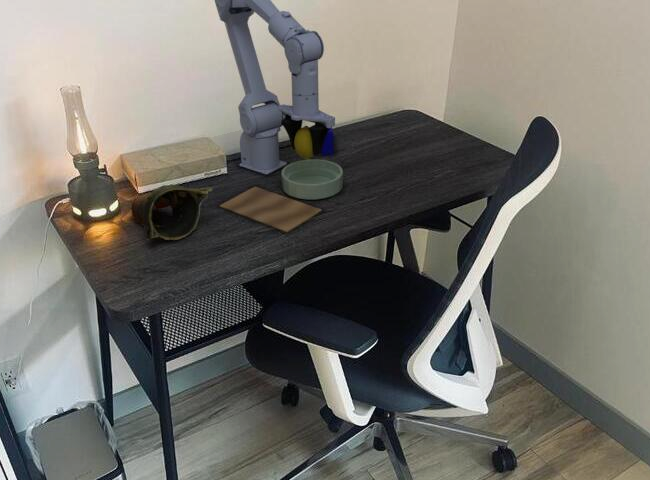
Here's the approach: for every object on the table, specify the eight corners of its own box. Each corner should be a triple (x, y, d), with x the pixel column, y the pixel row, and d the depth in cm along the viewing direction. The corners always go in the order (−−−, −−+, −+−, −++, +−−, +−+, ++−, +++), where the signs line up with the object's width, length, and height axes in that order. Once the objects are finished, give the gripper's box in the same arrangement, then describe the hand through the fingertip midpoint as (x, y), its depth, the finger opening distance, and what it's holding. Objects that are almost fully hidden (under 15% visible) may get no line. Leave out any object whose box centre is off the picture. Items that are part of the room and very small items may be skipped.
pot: (160, 163, 149) (198, 163, 135) (188, 204, 155) (228, 207, 141) (101, 211, 143) (136, 216, 129) (133, 252, 148) (169, 260, 134)
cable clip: (315, 137, 183) (315, 116, 180) (331, 137, 183) (331, 115, 180) (315, 154, 173) (315, 132, 170) (333, 154, 173) (333, 132, 170)
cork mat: (219, 206, 151) (219, 205, 151) (255, 187, 158) (255, 186, 158) (287, 232, 140) (287, 231, 140) (322, 210, 148) (322, 209, 147)
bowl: (269, 190, 157) (269, 174, 155) (307, 169, 166) (307, 154, 164) (317, 206, 149) (317, 190, 147) (354, 184, 158) (354, 168, 156)
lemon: (316, 165, 150) (316, 131, 145) (292, 163, 151) (291, 130, 146) (321, 155, 154) (320, 121, 150) (297, 154, 155) (296, 120, 151)
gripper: (267, 90, 145) (270, 149, 153) (320, 103, 137) (321, 164, 145) (288, 82, 149) (290, 139, 157) (340, 94, 142) (340, 154, 149)
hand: (306, 151), depth 151 cm, fingers closed on lemon, 5 cm apart
